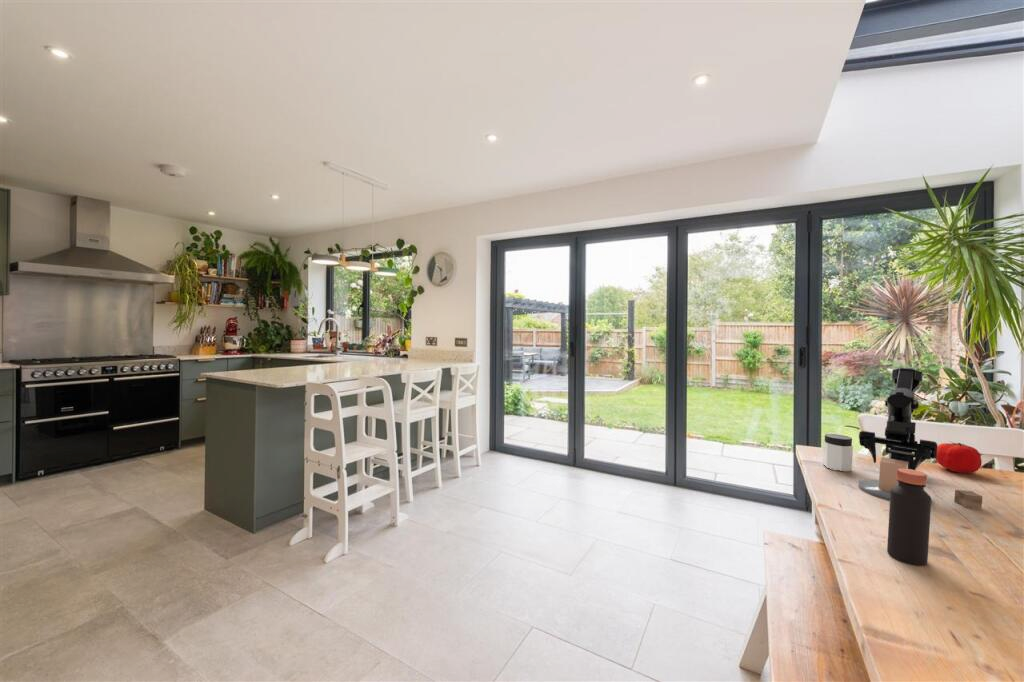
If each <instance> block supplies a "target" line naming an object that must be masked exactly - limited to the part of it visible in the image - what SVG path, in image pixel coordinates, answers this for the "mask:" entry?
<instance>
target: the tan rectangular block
mask: <svg viewBox="0 0 1024 682" xmlns="http://www.w3.org/2000/svg"><path fill="white" fill-rule="evenodd" d="M900 468H904V469H908V462H906V461H901V460H895V459H890V458H889V457H883V456H882V457H881V459H880V462H879V475H878V476H879V479H878V480H879V489H881V490H886V491H891V489H892V488H893V487H895V486H897V485H898V481H897V469H900Z"/></svg>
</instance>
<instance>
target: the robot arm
mask: <svg viewBox="0 0 1024 682" xmlns="http://www.w3.org/2000/svg"><path fill="white" fill-rule="evenodd" d="M891 372H892V373H891V381H894V387H895V389H894V390H893V389H892V390H891V391H889V396H886V398H885V401H884V404H885V405H884V406H885V407H887V413H888V418H887V420H886V427H885V428H884V429H885V430H884V436H885V437H882V436H881V437H880V436H876V432H873V431H866V430H861V431H859V433H858V440H859V446H862V447H864V449H867V450H868V451H869V453H870V455H871V457H872V460H873V461H872V462H873V463H874V464H876V463H877V450H876V449H877V448H876V444H881V445H885V453H886V454H888V458H890V459H895V460H901V461H906V462H908V469H912V470H917V469H918V467H920V465H921V464H922V463H923V462H924V461H926V460H931V459H935V458H937V446H938V443H937V442H936V441H933V440H927V439H921V438H920V439H919V443H918V441H917V440H916V427H917V426H916V425H917V423H916V422H912V414H913V413H914V412H915V411H917V410H918V409H919V407H920V403H919V402H918V399H915V392H917V391H918V390H919V389H920V386H921V385H920V384H922V383H923V379H924V378H923V371H920V370H918V369H916V368H913V367H897V368H895V369H892V371H891Z"/></svg>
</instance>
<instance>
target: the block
mask: <svg viewBox="0 0 1024 682" xmlns="http://www.w3.org/2000/svg"><path fill="white" fill-rule="evenodd" d="M953 502H954V503H955V504H957V505H959V506H961V507H962V506H963V508H965V509H972V508H974V509H973V510H982V507H983V496H982V495H981V494H979V493H976V492H974V491H972V490H963V489H954V500H953Z"/></svg>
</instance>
